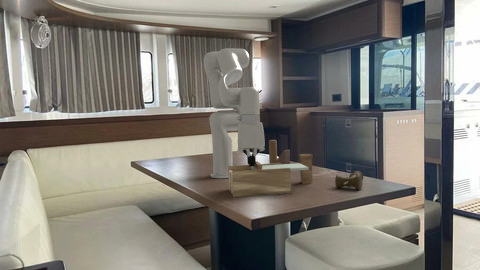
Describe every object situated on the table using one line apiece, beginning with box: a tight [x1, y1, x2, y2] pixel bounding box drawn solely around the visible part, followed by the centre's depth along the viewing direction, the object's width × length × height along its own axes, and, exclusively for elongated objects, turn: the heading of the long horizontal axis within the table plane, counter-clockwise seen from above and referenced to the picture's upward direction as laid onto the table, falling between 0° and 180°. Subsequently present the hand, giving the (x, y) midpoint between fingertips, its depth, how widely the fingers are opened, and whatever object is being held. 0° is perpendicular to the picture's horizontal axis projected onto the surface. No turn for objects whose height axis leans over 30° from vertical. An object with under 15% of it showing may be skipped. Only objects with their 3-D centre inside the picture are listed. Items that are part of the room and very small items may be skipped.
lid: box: [251, 161, 309, 172], centre depth 145 cm, size 11×21×3 cm, turn 99°
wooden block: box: [268, 139, 291, 164], centre depth 164 cm, size 4×11×18 cm, turn 40°
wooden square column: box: [298, 153, 314, 185], centre depth 158 cm, size 5×5×12 cm
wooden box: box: [228, 163, 292, 198], centre depth 144 cm, size 14×22×10 cm, turn 99°
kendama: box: [334, 170, 364, 191], centre depth 147 cm, size 6×10×20 cm
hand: (251, 166), depth 144 cm, fingers closed
